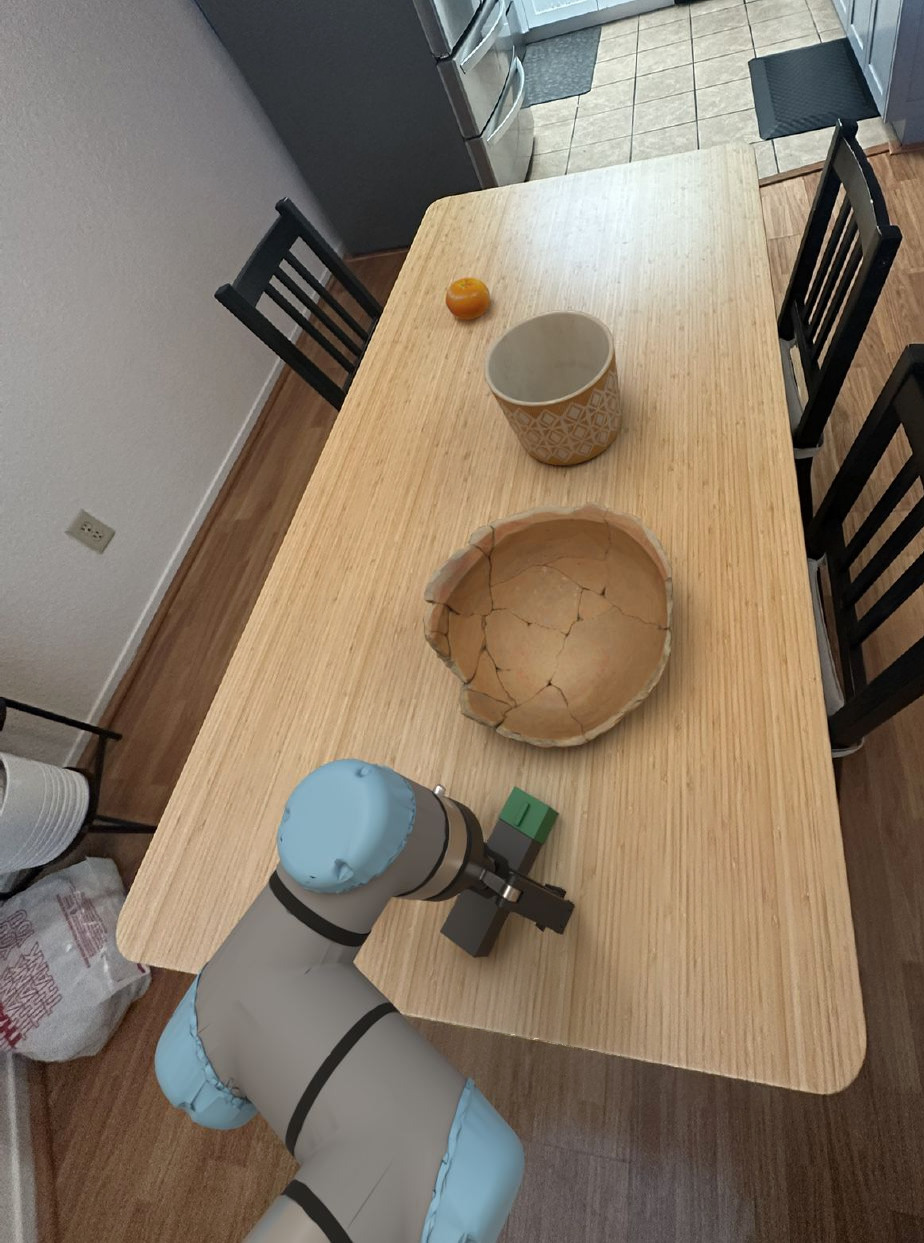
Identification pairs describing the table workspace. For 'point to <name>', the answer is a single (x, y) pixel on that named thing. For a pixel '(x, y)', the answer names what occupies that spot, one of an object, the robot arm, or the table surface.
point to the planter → (557, 385)
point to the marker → (520, 844)
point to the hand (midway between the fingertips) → (504, 866)
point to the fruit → (468, 298)
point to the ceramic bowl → (554, 621)
